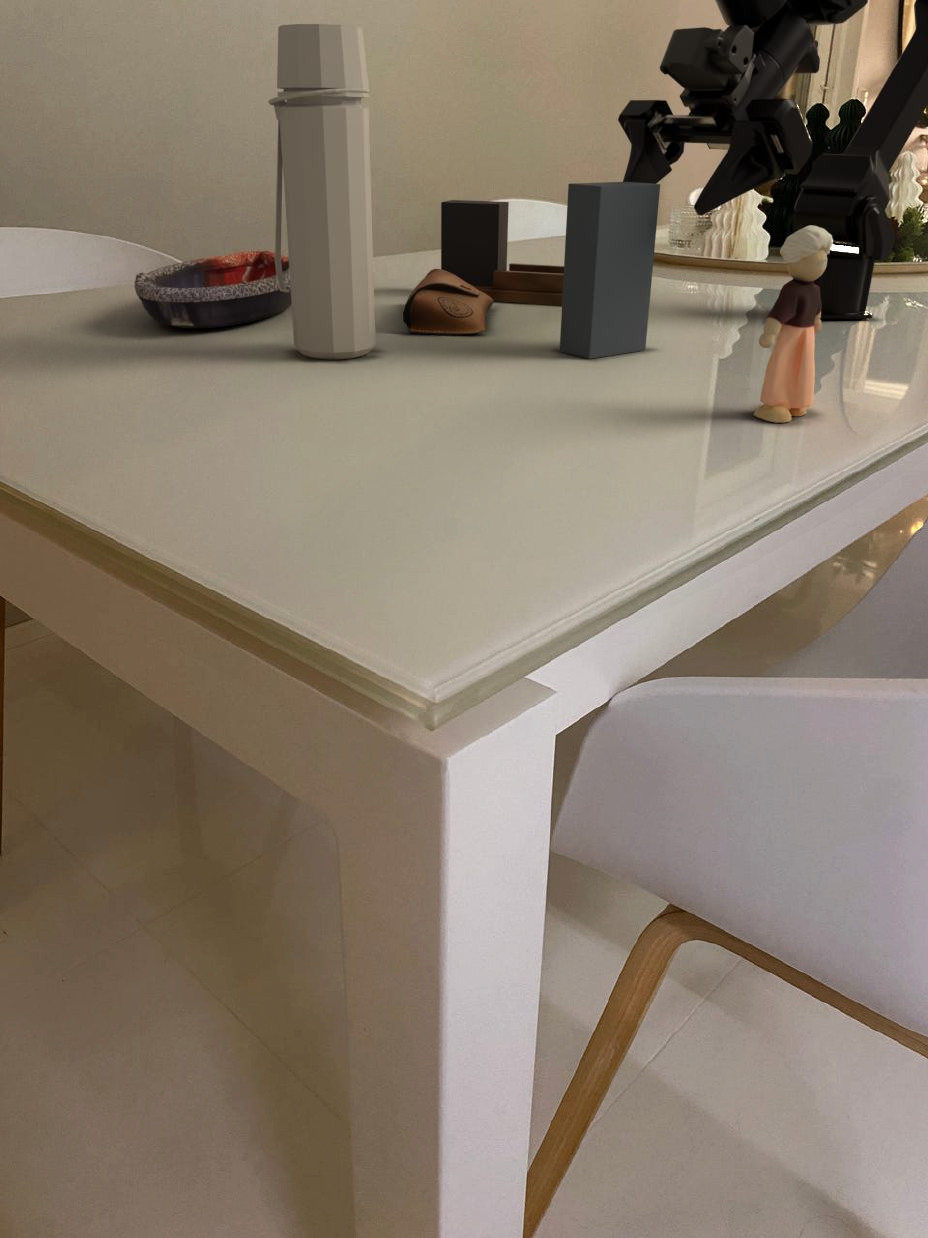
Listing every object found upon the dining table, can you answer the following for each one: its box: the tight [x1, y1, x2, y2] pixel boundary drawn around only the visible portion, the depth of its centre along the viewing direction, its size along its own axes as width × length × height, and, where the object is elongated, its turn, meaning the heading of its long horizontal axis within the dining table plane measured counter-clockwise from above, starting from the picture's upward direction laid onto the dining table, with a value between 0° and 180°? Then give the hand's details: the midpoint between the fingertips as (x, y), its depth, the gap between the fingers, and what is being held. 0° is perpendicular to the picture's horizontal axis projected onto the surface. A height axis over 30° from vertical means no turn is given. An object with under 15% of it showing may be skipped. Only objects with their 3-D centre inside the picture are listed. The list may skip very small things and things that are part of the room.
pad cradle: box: [440, 199, 564, 307], centre depth 118 cm, size 18×10×10 cm, turn 72°
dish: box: [134, 250, 292, 329], centre depth 107 cm, size 16×31×5 cm, turn 171°
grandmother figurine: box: [753, 226, 834, 424], centre depth 70 cm, size 8×4×13 cm, turn 148°
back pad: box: [559, 181, 661, 360], centre depth 89 cm, size 7×4×14 cm, turn 127°
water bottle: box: [267, 23, 376, 361], centre depth 84 cm, size 9×8×25 cm
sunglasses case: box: [402, 268, 494, 336], centre depth 105 cm, size 18×7×7 cm
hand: (657, 207), depth 89 cm, fingers open, 9 cm apart
